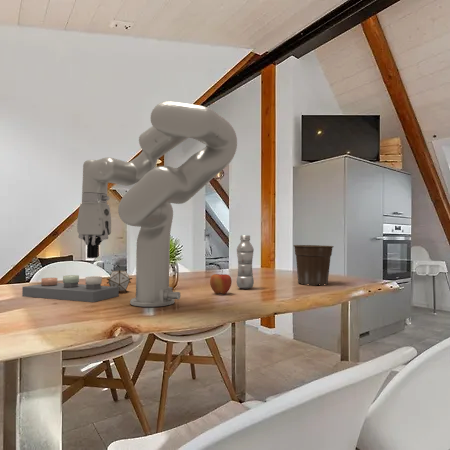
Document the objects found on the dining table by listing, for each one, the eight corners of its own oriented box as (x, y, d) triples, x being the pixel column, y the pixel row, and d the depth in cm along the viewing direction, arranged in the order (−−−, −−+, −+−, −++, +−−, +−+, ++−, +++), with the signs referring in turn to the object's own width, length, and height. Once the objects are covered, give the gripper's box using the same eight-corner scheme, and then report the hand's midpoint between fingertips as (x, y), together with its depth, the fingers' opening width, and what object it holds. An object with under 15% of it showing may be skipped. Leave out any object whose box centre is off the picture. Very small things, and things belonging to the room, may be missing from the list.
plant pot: (336, 282, 158) (336, 245, 158) (330, 287, 143) (330, 246, 144) (298, 280, 164) (298, 244, 165) (289, 285, 150) (289, 245, 150)
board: (118, 296, 120) (118, 286, 120) (93, 302, 108) (93, 291, 108) (51, 291, 129) (52, 282, 129) (22, 296, 118) (22, 286, 118)
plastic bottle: (256, 288, 139) (257, 235, 140) (248, 290, 133) (248, 235, 134) (242, 287, 143) (242, 235, 143) (233, 289, 137) (233, 235, 138)
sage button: (82, 289, 120) (82, 275, 120) (71, 291, 116) (71, 277, 116) (70, 288, 122) (70, 274, 122) (59, 290, 117) (59, 276, 118)
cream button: (104, 291, 117) (105, 276, 117) (94, 293, 113) (94, 278, 113) (92, 290, 119) (92, 276, 119) (81, 292, 114) (82, 277, 114)
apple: (207, 295, 123) (207, 271, 123) (213, 292, 130) (213, 269, 130) (228, 296, 121) (228, 271, 121) (233, 293, 128) (233, 269, 128)
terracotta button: (60, 291, 123) (60, 278, 124) (49, 293, 119) (49, 279, 119) (49, 290, 125) (49, 277, 125) (37, 292, 121) (38, 278, 121)
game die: (121, 303, 126) (122, 282, 121) (100, 294, 128) (100, 272, 122) (135, 288, 134) (137, 267, 128) (115, 279, 135) (116, 258, 130)
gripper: (121, 200, 118) (119, 258, 117) (84, 200, 123) (81, 256, 122) (106, 198, 111) (104, 259, 110) (67, 198, 116) (64, 257, 115)
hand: (92, 257), depth 116 cm, fingers closed
